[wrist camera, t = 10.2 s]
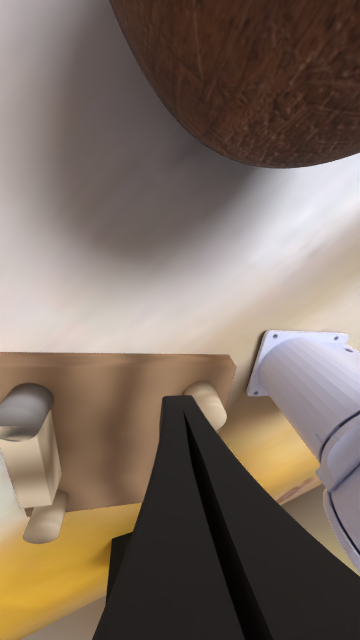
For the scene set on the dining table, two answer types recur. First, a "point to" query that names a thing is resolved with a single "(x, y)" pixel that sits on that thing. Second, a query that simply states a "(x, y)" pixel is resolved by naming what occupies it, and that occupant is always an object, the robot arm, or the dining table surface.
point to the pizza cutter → (30, 444)
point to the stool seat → (110, 420)
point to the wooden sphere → (254, 74)
